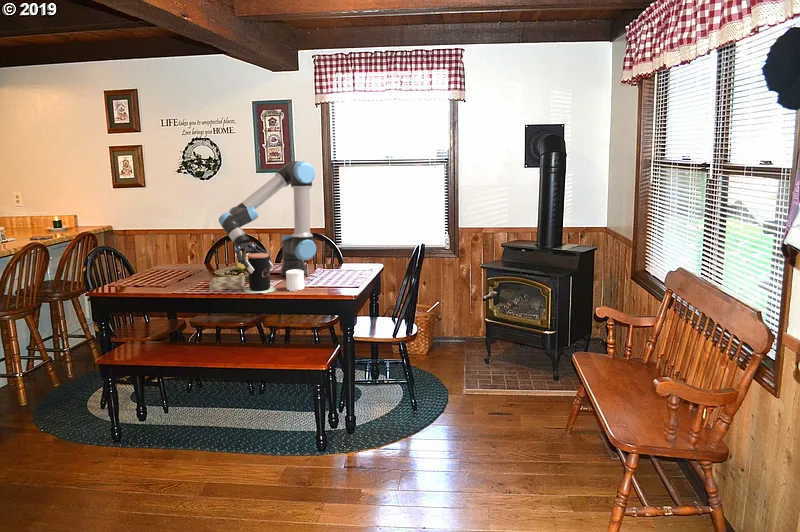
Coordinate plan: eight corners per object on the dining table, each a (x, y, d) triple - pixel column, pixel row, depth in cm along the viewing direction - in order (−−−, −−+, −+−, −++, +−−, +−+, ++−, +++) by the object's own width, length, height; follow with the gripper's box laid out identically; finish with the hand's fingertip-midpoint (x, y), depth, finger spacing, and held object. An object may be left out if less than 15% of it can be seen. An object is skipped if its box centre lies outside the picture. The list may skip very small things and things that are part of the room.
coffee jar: (265, 291, 331) (263, 256, 328) (245, 291, 334) (244, 256, 330) (273, 287, 342) (272, 253, 338) (254, 286, 344) (252, 252, 340)
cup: (288, 292, 333) (287, 273, 331) (283, 288, 342) (283, 270, 340) (307, 290, 336) (306, 271, 335) (301, 286, 345) (301, 268, 344)
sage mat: (276, 286, 346) (276, 285, 346) (274, 293, 331) (274, 292, 331) (245, 287, 344) (245, 286, 344) (242, 294, 329) (242, 293, 329)
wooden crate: (245, 282, 358) (244, 276, 357) (241, 288, 342) (241, 282, 341) (214, 283, 356) (213, 277, 355) (209, 290, 340) (209, 283, 339)
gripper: (253, 240, 352) (275, 270, 347) (217, 246, 331) (240, 278, 326) (260, 230, 348) (282, 261, 343) (224, 236, 328) (247, 268, 322)
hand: (262, 269), depth 334 cm, fingers open, 13 cm apart
